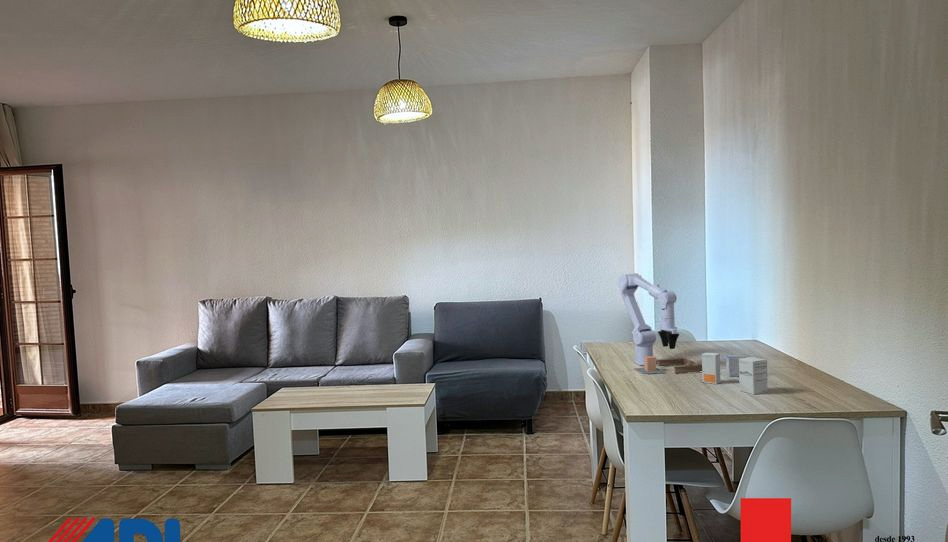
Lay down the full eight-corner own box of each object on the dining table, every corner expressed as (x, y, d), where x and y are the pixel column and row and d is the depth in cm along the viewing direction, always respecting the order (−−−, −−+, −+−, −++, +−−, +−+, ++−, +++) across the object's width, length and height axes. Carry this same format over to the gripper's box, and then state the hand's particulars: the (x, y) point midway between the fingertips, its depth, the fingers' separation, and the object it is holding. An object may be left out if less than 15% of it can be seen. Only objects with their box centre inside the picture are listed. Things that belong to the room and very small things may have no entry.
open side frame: (658, 366, 323) (658, 360, 323) (685, 364, 325) (684, 358, 325) (675, 373, 305) (675, 367, 305) (703, 371, 306) (703, 365, 306)
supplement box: (738, 391, 267) (738, 358, 267) (753, 388, 270) (752, 356, 270) (753, 394, 260) (752, 361, 260) (768, 392, 263) (767, 359, 263)
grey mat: (633, 369, 319) (633, 368, 319) (654, 368, 320) (654, 366, 320) (644, 374, 306) (644, 373, 306) (666, 373, 307) (666, 372, 307)
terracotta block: (644, 369, 315) (643, 356, 314) (652, 369, 315) (652, 355, 315) (647, 371, 311) (647, 357, 311) (656, 370, 311) (655, 357, 311)
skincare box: (702, 382, 285) (701, 353, 284) (706, 380, 288) (705, 352, 287) (716, 384, 281) (715, 354, 280) (721, 382, 284) (720, 353, 283)
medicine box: (745, 374, 297) (744, 354, 297) (748, 376, 293) (747, 356, 292) (726, 375, 298) (725, 355, 297) (729, 377, 293) (728, 356, 293)
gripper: (683, 319, 311) (683, 349, 311) (669, 315, 325) (670, 344, 326) (667, 320, 310) (668, 350, 310) (655, 316, 324) (656, 345, 325)
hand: (668, 347), depth 318 cm, fingers open, 7 cm apart
